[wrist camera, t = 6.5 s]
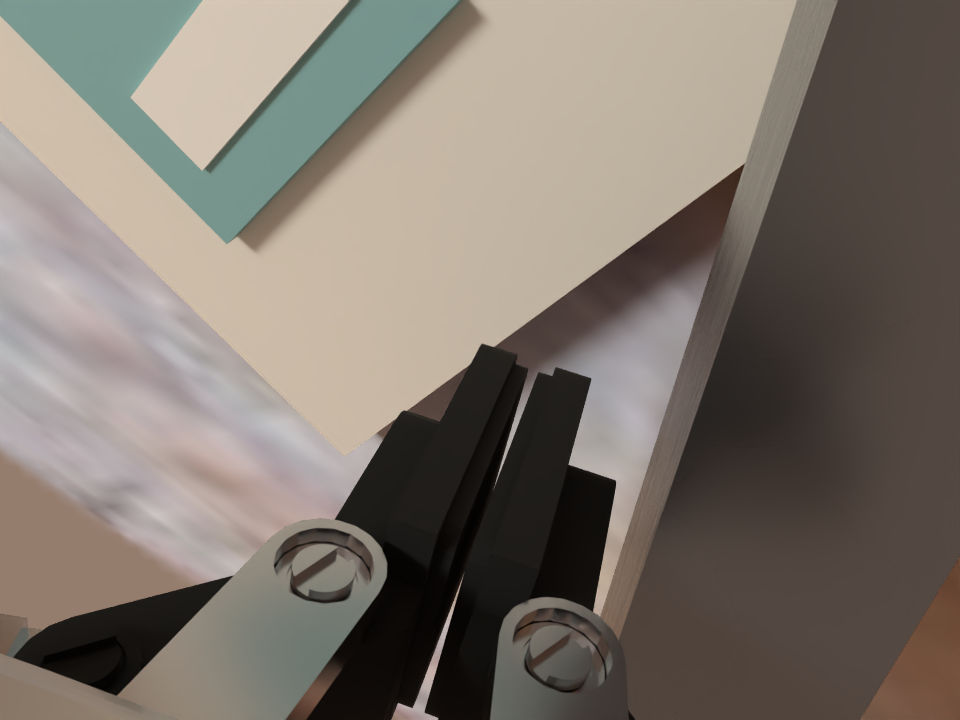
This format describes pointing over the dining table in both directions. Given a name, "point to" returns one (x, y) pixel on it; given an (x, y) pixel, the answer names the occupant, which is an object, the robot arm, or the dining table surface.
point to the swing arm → (812, 392)
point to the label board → (383, 161)
